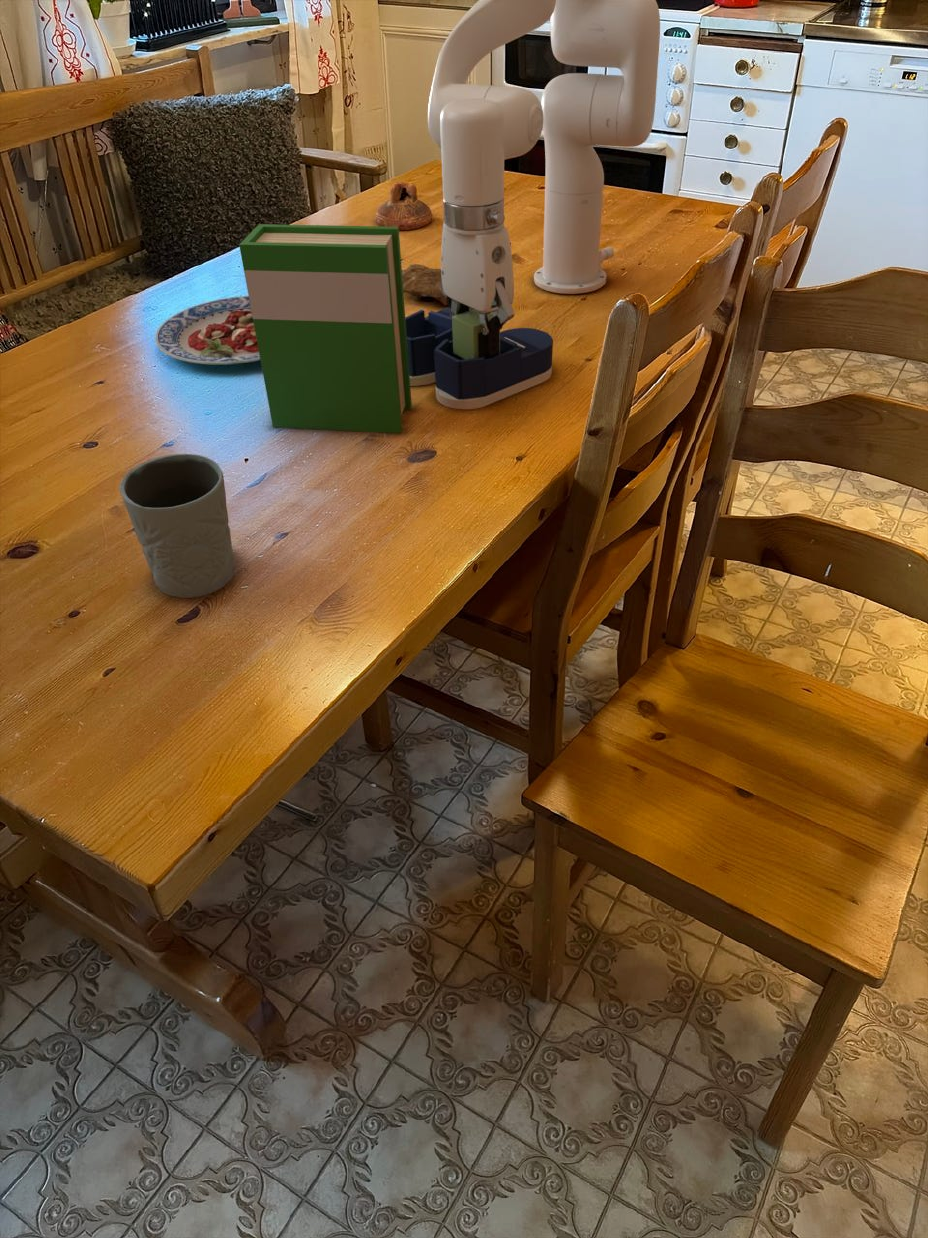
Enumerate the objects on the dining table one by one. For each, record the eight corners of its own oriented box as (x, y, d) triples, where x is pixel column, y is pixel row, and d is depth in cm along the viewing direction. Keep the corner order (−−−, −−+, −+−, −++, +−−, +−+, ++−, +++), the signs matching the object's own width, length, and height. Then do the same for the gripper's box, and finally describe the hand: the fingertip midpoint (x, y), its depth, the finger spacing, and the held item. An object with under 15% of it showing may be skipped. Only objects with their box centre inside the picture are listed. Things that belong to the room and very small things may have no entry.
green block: (478, 343, 128) (478, 307, 125) (500, 354, 125) (500, 317, 122) (453, 353, 126) (451, 316, 123) (474, 364, 123) (473, 326, 120)
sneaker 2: (524, 354, 138) (525, 310, 133) (564, 373, 133) (566, 327, 128) (423, 393, 129) (420, 347, 125) (461, 415, 124) (460, 368, 119)
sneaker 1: (459, 332, 145) (457, 289, 140) (501, 346, 140) (501, 301, 136) (374, 375, 134) (370, 329, 130) (418, 391, 130) (414, 345, 125)
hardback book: (411, 406, 126) (398, 226, 111) (401, 433, 121) (385, 247, 105) (288, 401, 129) (259, 223, 113) (272, 427, 123) (239, 244, 107)
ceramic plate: (242, 297, 159) (239, 279, 157) (355, 328, 147) (353, 310, 145) (123, 351, 143) (118, 333, 141) (239, 391, 131) (235, 372, 129)
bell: (438, 213, 191) (437, 176, 186) (423, 232, 182) (421, 193, 177) (385, 211, 193) (382, 174, 188) (368, 229, 184) (364, 191, 179)
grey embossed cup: (180, 540, 104) (153, 447, 96) (261, 554, 101) (240, 459, 93) (131, 595, 96) (98, 499, 88) (216, 611, 94) (190, 513, 86)
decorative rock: (378, 303, 156) (460, 316, 152) (376, 279, 153) (459, 292, 149) (405, 276, 163) (483, 288, 159) (403, 253, 160) (483, 265, 156)
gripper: (541, 222, 110) (538, 364, 122) (455, 192, 121) (459, 326, 132) (494, 236, 107) (495, 381, 119) (409, 204, 117) (418, 341, 129)
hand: (476, 351), depth 125 cm, fingers closed on green block, 4 cm apart
